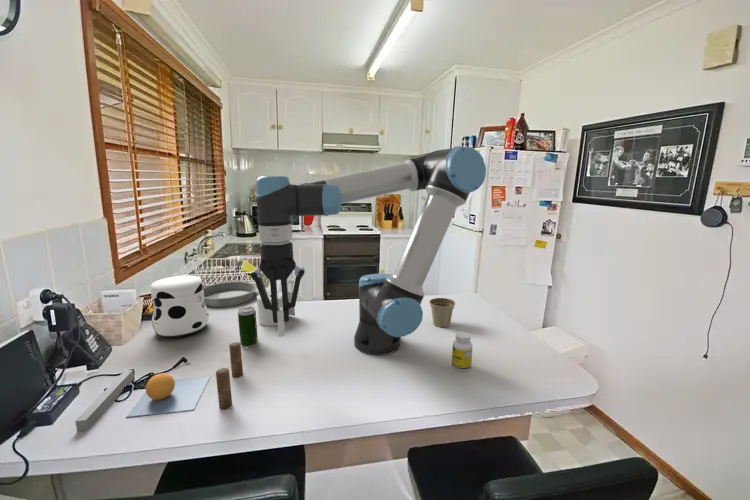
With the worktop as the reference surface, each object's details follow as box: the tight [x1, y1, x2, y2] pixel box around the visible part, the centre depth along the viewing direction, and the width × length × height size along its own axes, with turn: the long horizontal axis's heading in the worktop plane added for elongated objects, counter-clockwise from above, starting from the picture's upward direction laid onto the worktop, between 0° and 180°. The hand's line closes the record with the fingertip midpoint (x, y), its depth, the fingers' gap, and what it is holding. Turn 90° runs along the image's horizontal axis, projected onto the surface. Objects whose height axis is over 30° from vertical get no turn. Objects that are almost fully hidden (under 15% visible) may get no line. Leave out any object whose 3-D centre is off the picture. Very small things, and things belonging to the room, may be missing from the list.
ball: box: [145, 372, 175, 400], centre depth 84 cm, size 6×6×6 cm
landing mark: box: [125, 376, 211, 418], centre depth 85 cm, size 14×14×1 cm
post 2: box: [228, 341, 244, 379], centre depth 93 cm, size 3×3×9 cm
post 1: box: [215, 367, 233, 411], centre depth 80 cm, size 3×3×9 cm
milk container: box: [150, 275, 210, 338], centre depth 120 cm, size 17×17×18 cm
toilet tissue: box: [256, 290, 296, 327], centre depth 130 cm, size 11×12×10 cm
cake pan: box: [203, 281, 258, 308], centre depth 155 cm, size 25×25×4 cm
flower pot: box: [428, 297, 456, 328], centre depth 126 cm, size 9×9×9 cm
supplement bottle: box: [451, 331, 473, 372], centre depth 97 cm, size 5×5×10 cm
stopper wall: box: [74, 369, 135, 432], centre depth 83 cm, size 2×20×2 cm, turn 10°
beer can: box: [237, 305, 259, 348], centre depth 111 cm, size 5×5×12 cm
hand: (282, 333), depth 87 cm, fingers closed
